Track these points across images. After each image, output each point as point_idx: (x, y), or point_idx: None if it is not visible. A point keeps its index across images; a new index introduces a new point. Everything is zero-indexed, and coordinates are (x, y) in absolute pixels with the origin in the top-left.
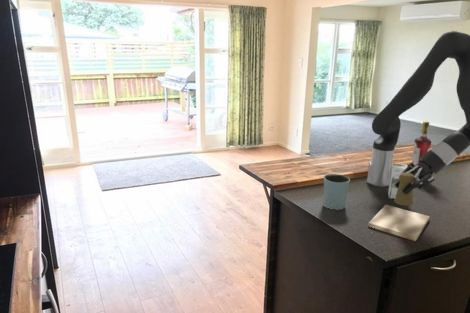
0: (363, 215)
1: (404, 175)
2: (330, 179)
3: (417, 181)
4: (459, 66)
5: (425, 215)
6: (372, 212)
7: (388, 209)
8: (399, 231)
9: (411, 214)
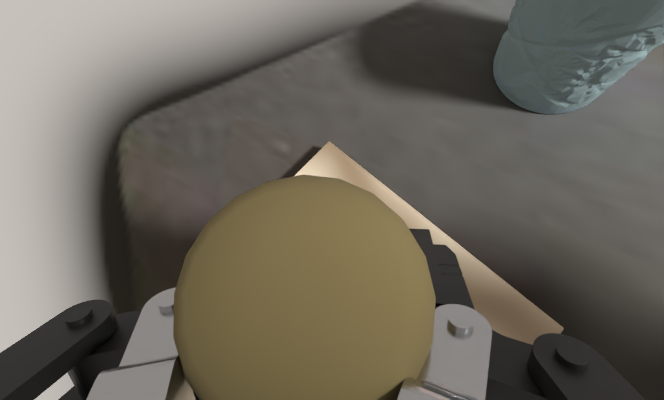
0: (441, 168)
1: (243, 200)
2: None
3: (64, 347)
4: None
5: None
6: (480, 225)
7: (486, 309)
8: None
9: None
